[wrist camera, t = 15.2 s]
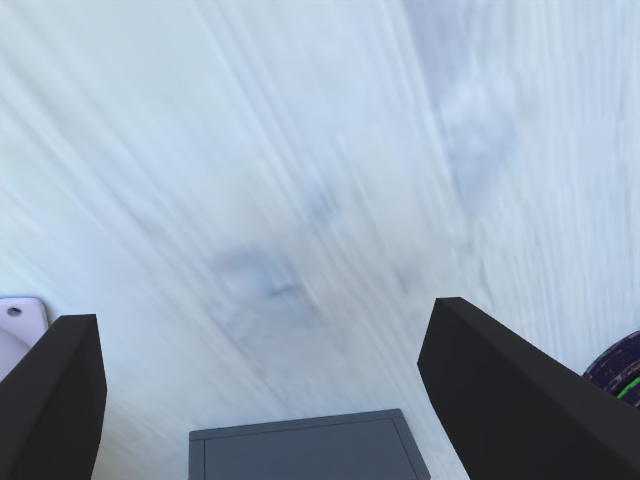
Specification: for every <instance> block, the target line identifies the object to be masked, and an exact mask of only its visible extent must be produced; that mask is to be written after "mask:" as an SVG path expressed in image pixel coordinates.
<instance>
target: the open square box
mask: <svg viewBox="0 0 640 480" xmlns="http://www.w3.org/2000/svg"><path fill="white" fill-rule="evenodd" d="M430 479H431V476H430V473H429V471H428V469H427V467H426V465H425V462H424V460H423V458H422V456H421V453H420V451H419V449H418V447H417V445H416V442H415V440H414V438H413V436H412V434H411V431H410V429H409V427H408V425H407V422H406V420H405V418H404V417H403V414H402V412H401V410H400V409H395V410H386V411H377V412H368V413H358V414H349V415H340V416H331V417H322V418H312V419H303V420H294V421H285V422H275V423H266V424H257V425H248V426H239V427H229V428H220V429H211V430H202V431H193V432H190V433H189V479H188V480H430Z"/></svg>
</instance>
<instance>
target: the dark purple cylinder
mask: <svg viewBox="0 0 640 480" xmlns="http://www.w3.org/2000/svg"><path fill="white" fill-rule="evenodd" d="M582 377H583V378H585V379H586V380H588V381H590V382H591V383H593V384H594V385H596V386H598V387H599V388H601V389H603V390H604V391H606V392H608V393H610V394H611V395H613V396H615V397H617V398H618V399H620V400H622V401H624V402H626V403H628V404H630V405H631V406H633V407H635V408H637V409H639V410H640V331H638V332H636V333H634V334H632V335H630V336H628V337H626V338H624V339H623V340H621V341H620V342H618V343H616V344H615V345H613V346H612V347H611V348H610V349H608V350H607V351H606V352H604V353H603V354H602V355H601V356H600V357H599V358H598V359H597V360H596V361H595V362H594V363H593V364H592V365H591V366H590V367H589V368H588V370H587V371H586V372H585V374H584V375H583V376H582Z"/></svg>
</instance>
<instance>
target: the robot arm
mask: <svg viewBox="0 0 640 480" xmlns="http://www.w3.org/2000/svg"><path fill="white" fill-rule="evenodd" d="M11 308H18V309H20V310H21V312H16V311H14V310H12V309H11ZM417 366H418V368H419V371H420V374H421V377H422V380H423V383H424V386H425V389H426V391H427V394H428V396H429V399H430V402H431V404H432V406H433V408H434V410H435V412H436V414H437V416H438V418H439V420H440V422H441V424H442V426H443V428H444V430H445V432H446V434H447V436H448V438H449V440H450V441H451V443H452V445H453V447H454V449H455V451H456V453H457V455H458V457H459V459H460V460H461V462H462V464H463V466H464V468H465V470H466V472H467V474H468V476H469V478H470V479H471V480H640V410H639V409H637V408H635V407H633V406H631V405H630V404H628V403H626V402H624V401H622V400H620V399H618V398H617V397H615V396H613V395H611V394H610V393H608V392H606V391H604V390H603V389H601V388H599V387H598V386H596V385H594V384H593V383H591V382H590V381H588V380H586V379H585V378H583V377H581V376H580V375H578V374H576V373H575V372H573V371H572V370H570V369H568V368H567V367H565V366H564V365H562V364H561V363H559V362H557V361H556V360H554V359H553V358H551V357H550V356H548V355H547V354H545V353H544V352H542V351H541V350H539V349H538V348H536V347H535V346H533V345H532V344H530V343H529V342H527V341H526V340H524V339H523V338H521V337H520V336H519V335H517V334H516V333H514V332H513V331H511V330H510V329H508V328H507V327H505V326H504V325H503V324H501V323H500V322H498V321H497V320H495V319H494V318H492V317H491V316H489V315H488V314H486V313H485V312H483V311H482V310H480V309H479V308H477V307H476V306H474V305H473V304H471V303H469V302H468V301H466V300H464V299H463V298H461V297H450V298H436V301H435V304H434V308H433V311H432V314H431V318H430V321H429V325H428V328H427V331H426V335H425V338H424V342H423V345H422V348H421V352H420V355H419V359H418V362H417ZM106 396H107V385H106V378H105V371H104V365H103V358H102V351H101V345H100V338H99V332H98V325H97V318H96V314H85V315H64V316H60V317H59V318H58V319H57V320H56V321H55V322H54V323H53V324H52V325H51V326H50V327H49V326H48V322H47V317H46V312H45V308H44V305H43V303H42V302H41V301H40V300H38V299H35V298H30V297H26V298H0V480H91V476H92V472H93V468H94V464H95V460H96V456H97V452H98V448H99V444H100V440H101V433H102V426H103V419H104V412H105V404H106Z"/></svg>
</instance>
